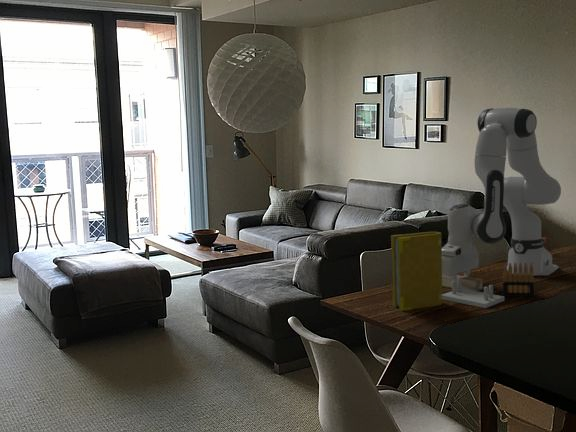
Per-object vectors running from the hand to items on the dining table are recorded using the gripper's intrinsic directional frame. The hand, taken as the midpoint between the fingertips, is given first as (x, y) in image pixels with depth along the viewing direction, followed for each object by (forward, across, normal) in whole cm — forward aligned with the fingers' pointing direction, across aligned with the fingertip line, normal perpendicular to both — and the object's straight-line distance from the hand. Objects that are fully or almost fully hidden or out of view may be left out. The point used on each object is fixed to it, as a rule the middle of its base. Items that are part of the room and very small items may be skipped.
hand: (460, 283), depth 245 cm
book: (+2, +29, +3) cm, 29 cm away
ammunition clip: (+2, -3, +22) cm, 22 cm away
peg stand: (+2, +12, +13) cm, 18 cm away
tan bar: (+2, 0, 0) cm, 2 cm away
